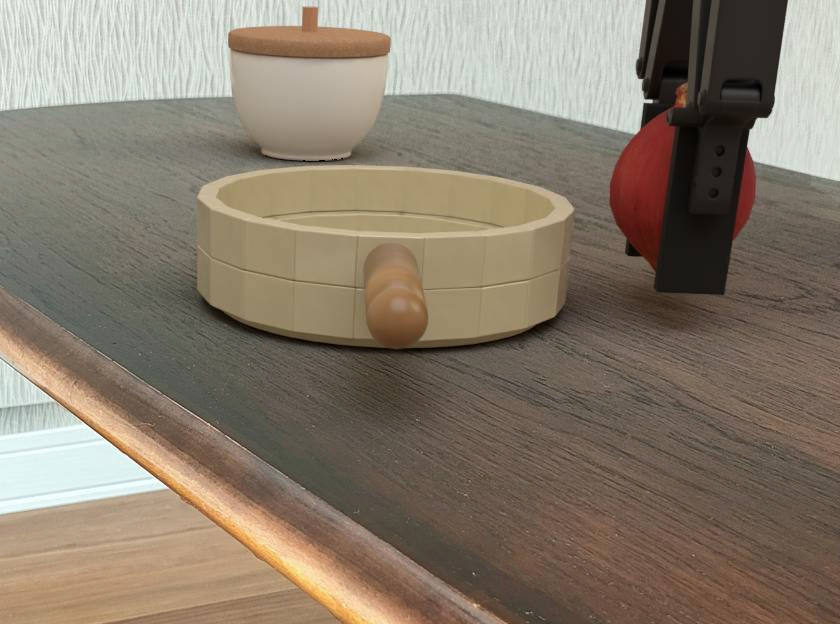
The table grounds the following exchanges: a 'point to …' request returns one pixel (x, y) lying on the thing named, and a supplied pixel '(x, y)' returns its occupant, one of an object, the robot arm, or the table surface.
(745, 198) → the onion
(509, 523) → the table surface
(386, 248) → the pan handle
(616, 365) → the table surface
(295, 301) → the pan
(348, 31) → the trinket box
